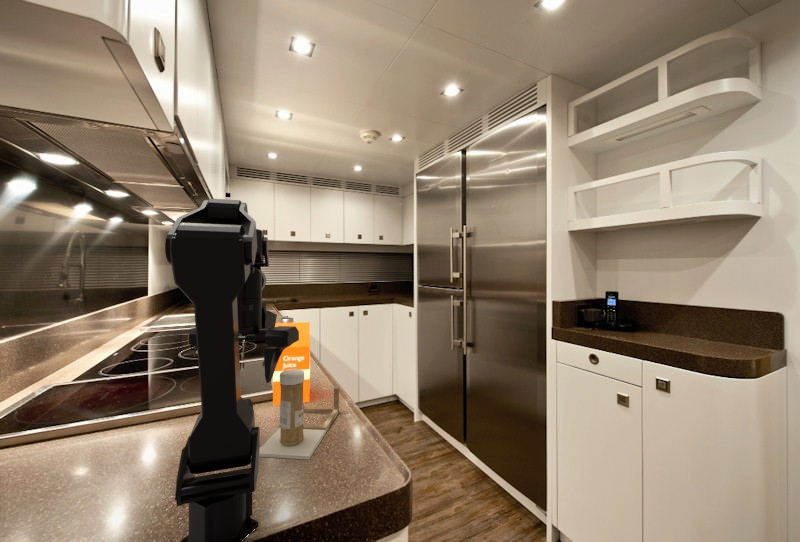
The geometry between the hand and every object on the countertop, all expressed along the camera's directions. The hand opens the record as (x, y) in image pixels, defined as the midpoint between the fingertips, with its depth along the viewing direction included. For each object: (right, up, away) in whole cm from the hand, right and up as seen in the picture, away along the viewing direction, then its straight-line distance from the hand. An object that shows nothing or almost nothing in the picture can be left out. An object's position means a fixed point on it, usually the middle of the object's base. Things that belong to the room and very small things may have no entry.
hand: (245, 381), depth 61 cm
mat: (+8, -13, +3) cm, 16 cm away
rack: (+9, -13, +12) cm, 20 cm away
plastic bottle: (-4, -13, +32) cm, 35 cm away
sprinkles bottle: (+8, -13, +3) cm, 15 cm away
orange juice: (+1, -13, +25) cm, 28 cm away
